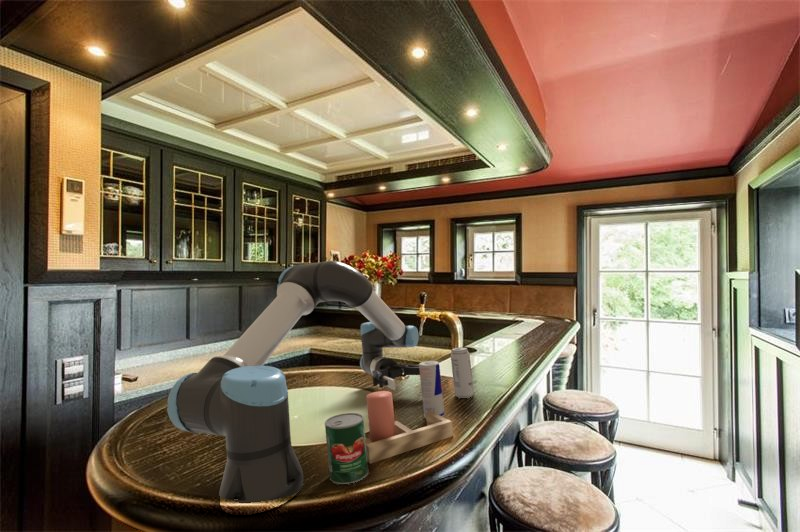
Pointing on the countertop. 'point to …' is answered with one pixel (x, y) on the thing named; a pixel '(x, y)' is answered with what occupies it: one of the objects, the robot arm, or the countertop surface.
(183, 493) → the countertop surface
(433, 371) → the beverage can
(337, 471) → the canned tomato
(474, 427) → the countertop surface
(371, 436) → the plug
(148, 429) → the countertop surface
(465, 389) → the energy drink can
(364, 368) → the robot arm
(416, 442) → the holder
